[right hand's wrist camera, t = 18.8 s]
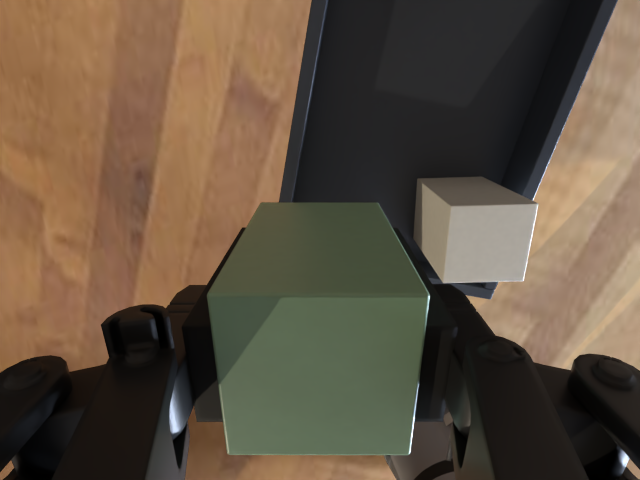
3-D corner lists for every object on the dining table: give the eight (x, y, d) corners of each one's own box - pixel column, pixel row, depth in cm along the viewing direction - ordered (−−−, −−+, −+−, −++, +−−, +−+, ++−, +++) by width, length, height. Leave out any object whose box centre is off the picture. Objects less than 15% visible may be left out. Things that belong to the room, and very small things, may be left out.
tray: (351, -217, 19) (381, -521, 9) (631, -139, 20) (901, -347, 11) (276, 239, 28) (254, 308, 19) (470, 275, 29) (539, 357, 20)
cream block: (482, 176, 25) (539, 203, 19) (474, 237, 27) (523, 281, 20) (417, 178, 25) (450, 205, 19) (413, 238, 27) (442, 283, 20)
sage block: (378, 202, 14) (431, 294, 7) (372, 305, 15) (411, 457, 9) (260, 201, 14) (205, 293, 7) (266, 305, 15) (225, 456, 9)
